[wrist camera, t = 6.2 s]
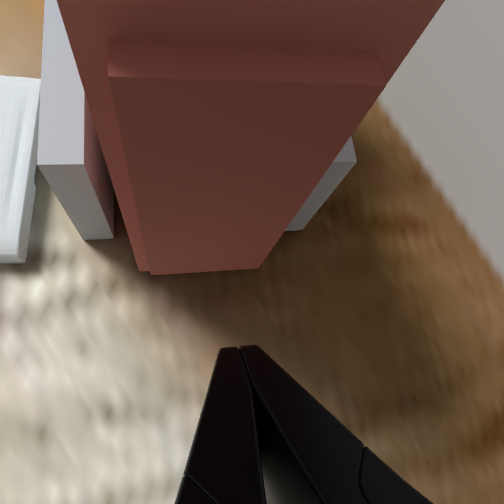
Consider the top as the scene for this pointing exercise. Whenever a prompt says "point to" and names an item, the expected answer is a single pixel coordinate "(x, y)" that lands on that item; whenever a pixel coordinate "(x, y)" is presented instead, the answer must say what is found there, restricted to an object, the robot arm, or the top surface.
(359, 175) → the top surface
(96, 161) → the socket block
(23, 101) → the external hard drive
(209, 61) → the pink rectangular block
